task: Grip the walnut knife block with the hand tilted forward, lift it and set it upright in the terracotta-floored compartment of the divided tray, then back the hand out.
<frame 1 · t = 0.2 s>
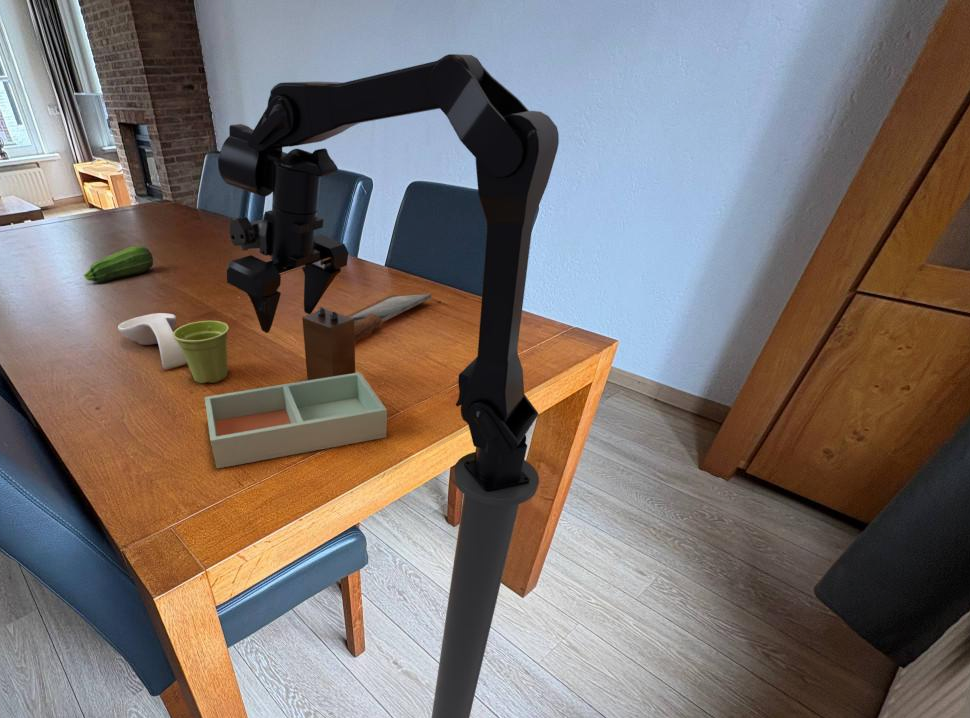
hand: (287, 321, 75), 13 cm above the table, tool pointing down, fingers open, 9 cm apart
divided tray: (295, 430, 76), on the table
meat cleaver: (368, 323, 110), on the table
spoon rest: (160, 349, 103), on the table
plant pot: (210, 377, 92), on the table
vegetable: (122, 277, 146), on the table
knife block: (331, 383, 88), on the table
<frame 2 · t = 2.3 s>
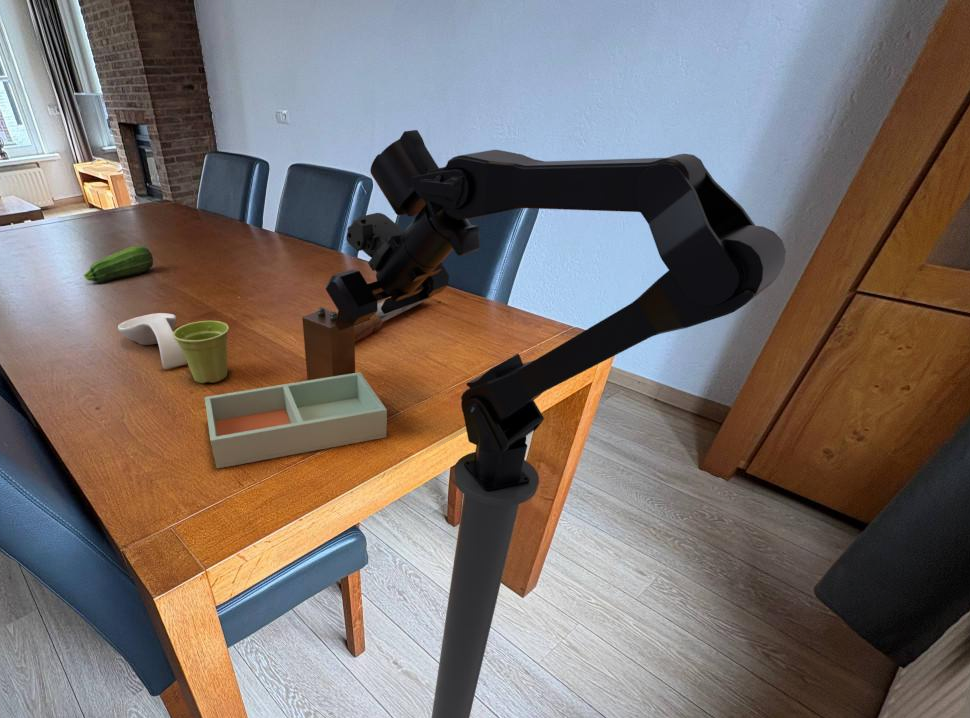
hand: (361, 319, 75), 13 cm above the table, tool tilted 45°, fingers open, 9 cm apart
nothing on the table moved.
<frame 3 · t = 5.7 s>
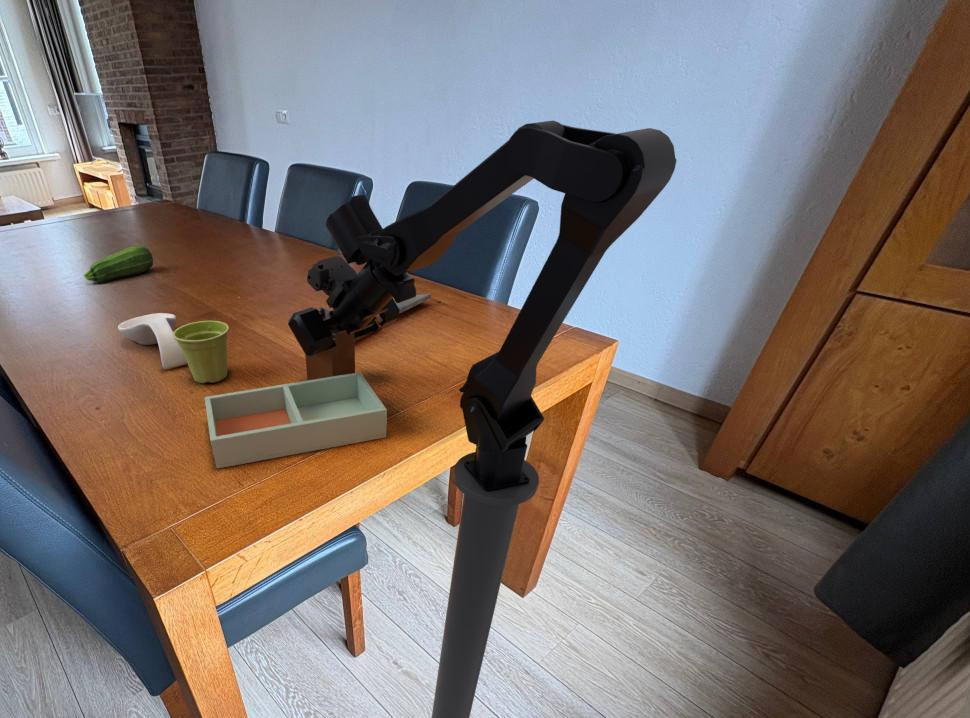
hand: (324, 344, 85), 7 cm above the table, tool tilted 45°, fingers closed on knife block, 5 cm apart
knife block: (331, 383, 88), on the table, touching gripper
everything else where it was.
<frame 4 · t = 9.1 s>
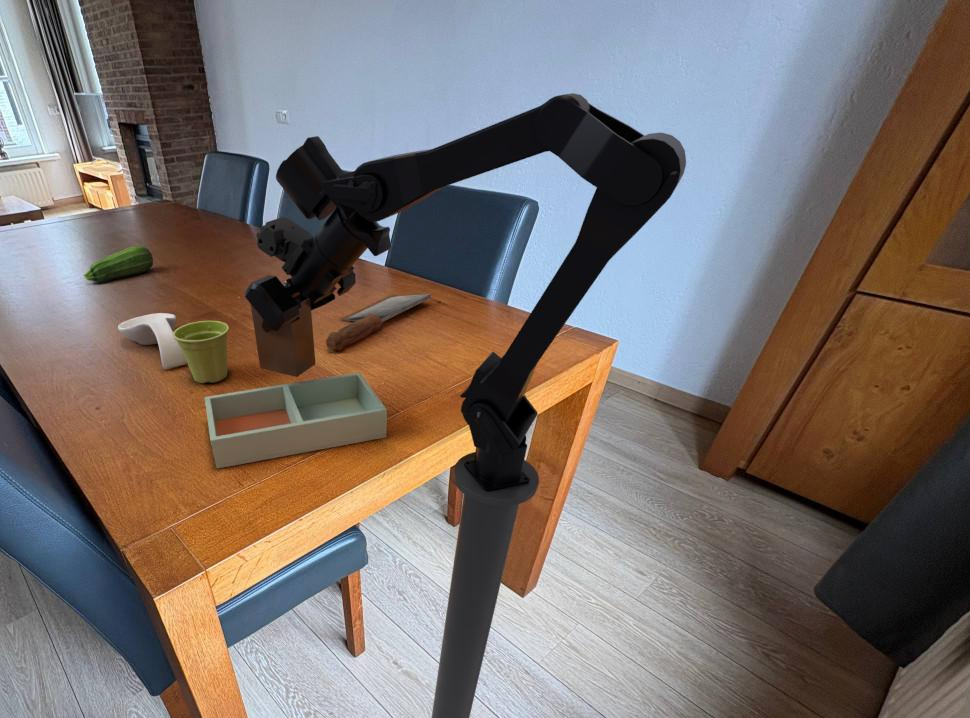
hand: (275, 323, 75), 13 cm above the table, tool tilted 45°, fingers closed on knife block, 5 cm apart
knife block: (287, 366, 78), point 7 cm above the table, touching gripper
everything else where it was.
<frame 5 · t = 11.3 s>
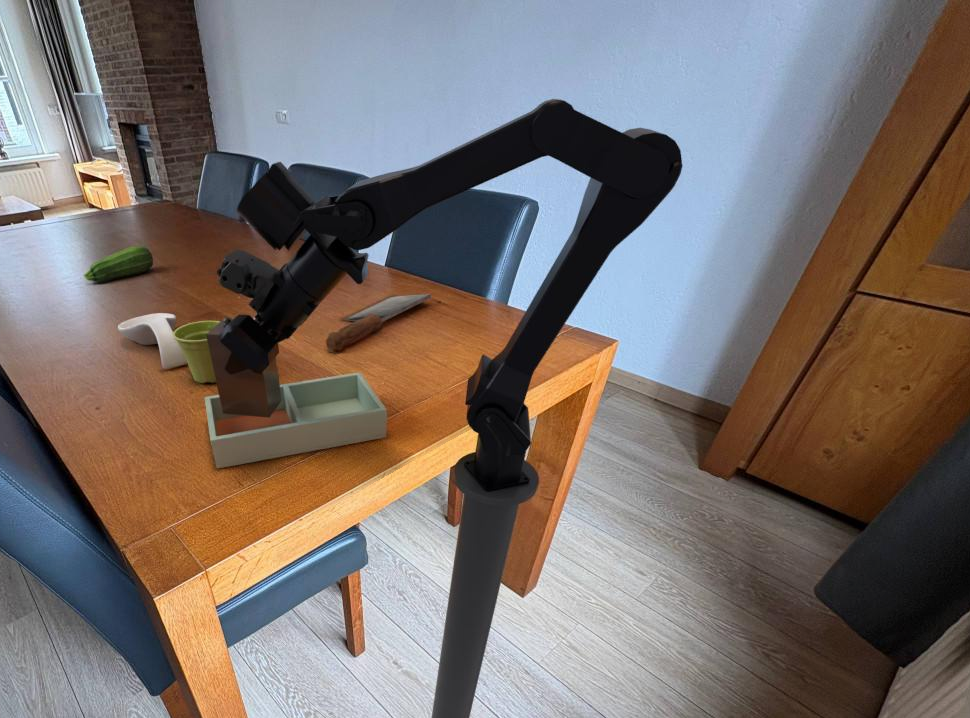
hand: (236, 362, 68), 12 cm above the table, tool tilted 45°, fingers closed on knife block, 5 cm apart
knife block: (252, 406, 72), point 5 cm above the table, touching gripper
everything else where it was.
when the fingers open (7 cm above the table, at t = 12.9 s): knife block stays where it is, resting on divided tray.
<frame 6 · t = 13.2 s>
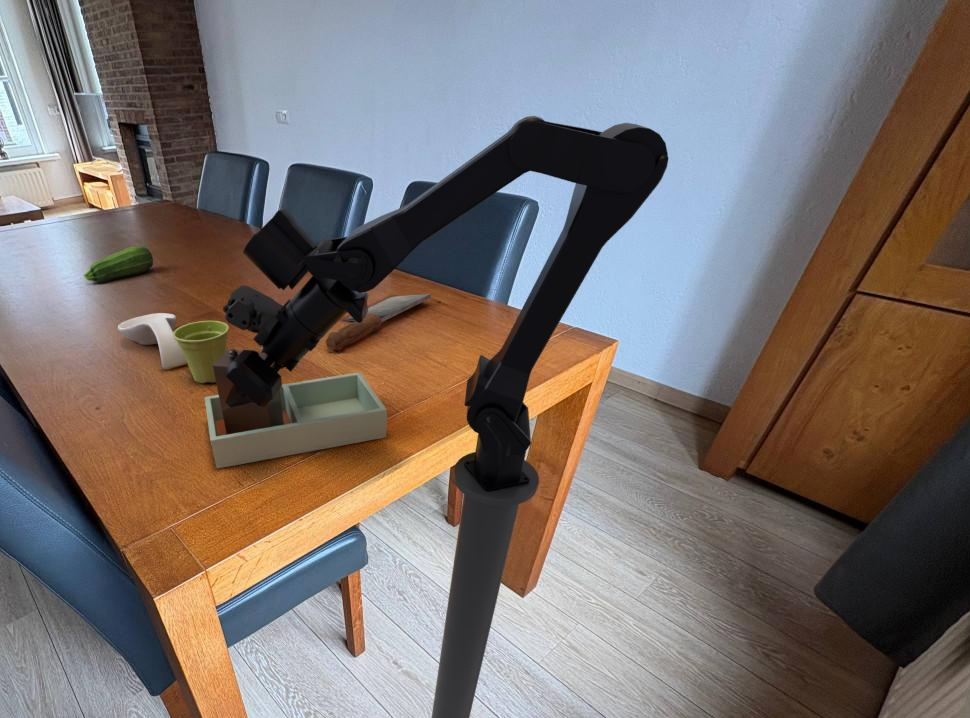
hand: (239, 390, 71), 7 cm above the table, tool tilted 45°, fingers open, 7 cm apart
knife block: (256, 432, 75), point 1 cm above the table, touching divided tray
everything else where it was.
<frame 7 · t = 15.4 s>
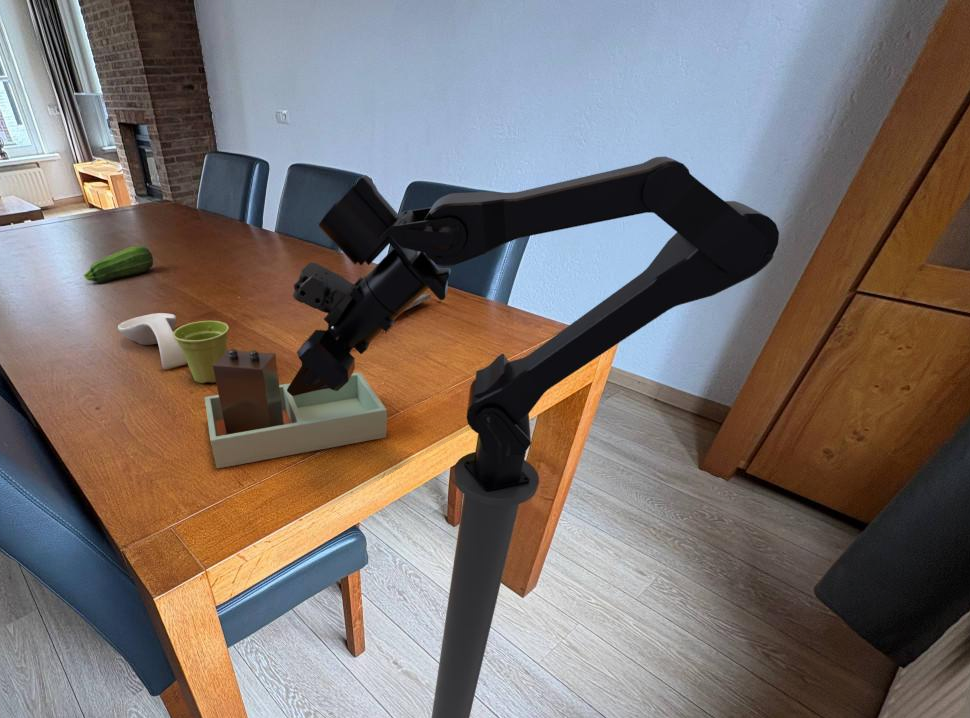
hand: (300, 376, 67), 10 cm above the table, tool tilted 45°, fingers open, 9 cm apart
nothing on the table moved.
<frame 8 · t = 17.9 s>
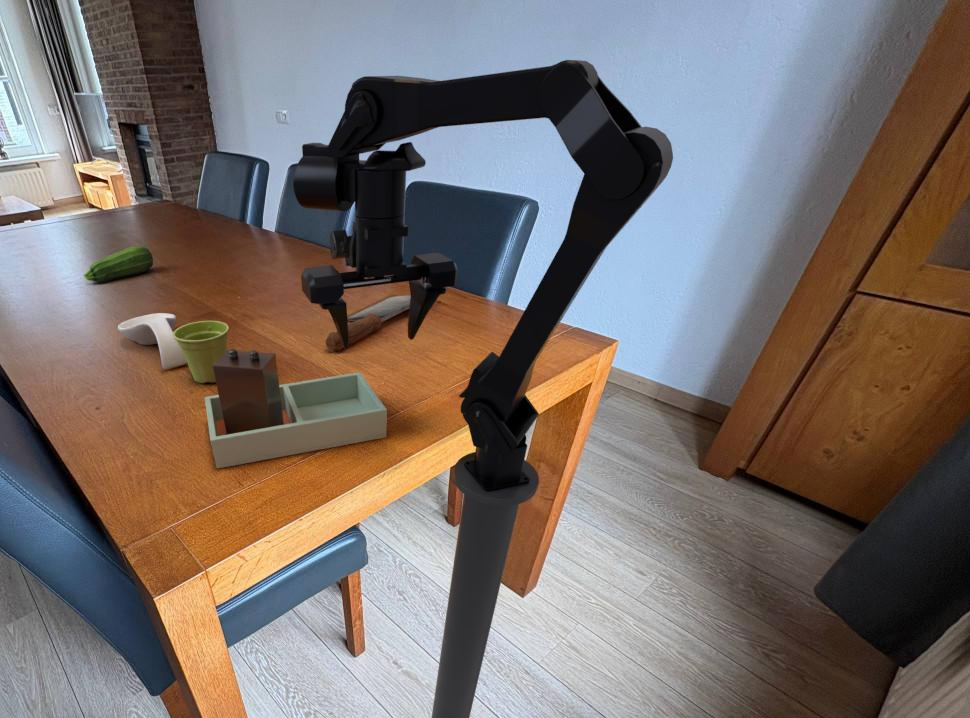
hand: (378, 343, 68), 13 cm above the table, tool pointing down, fingers open, 9 cm apart
nothing on the table moved.
at the end: knife block inside the target area in the divided tray (0.1 cm from its centre), point 0.8 cm above the divided tray's base; knife block tilted 0°; the gripper is holding nothing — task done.
